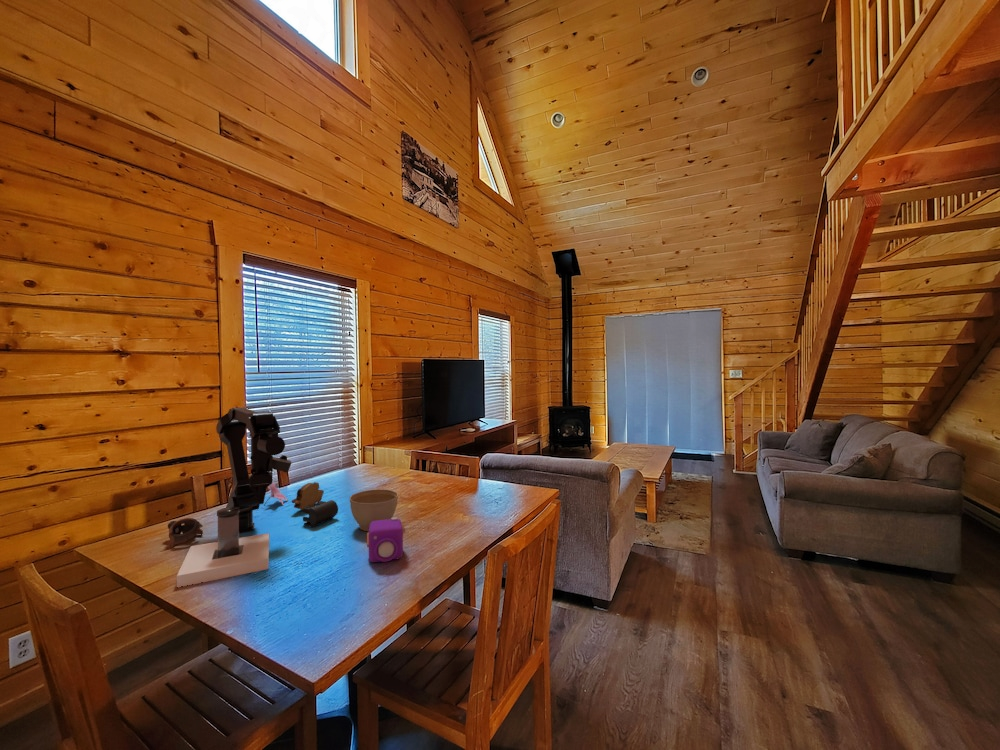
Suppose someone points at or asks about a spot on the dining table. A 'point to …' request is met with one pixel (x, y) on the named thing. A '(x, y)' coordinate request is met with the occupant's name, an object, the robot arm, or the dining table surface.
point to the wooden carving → (308, 495)
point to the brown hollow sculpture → (183, 530)
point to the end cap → (320, 513)
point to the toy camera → (385, 540)
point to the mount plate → (224, 561)
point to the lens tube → (228, 531)
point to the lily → (276, 493)
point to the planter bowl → (373, 506)
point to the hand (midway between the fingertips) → (261, 499)
